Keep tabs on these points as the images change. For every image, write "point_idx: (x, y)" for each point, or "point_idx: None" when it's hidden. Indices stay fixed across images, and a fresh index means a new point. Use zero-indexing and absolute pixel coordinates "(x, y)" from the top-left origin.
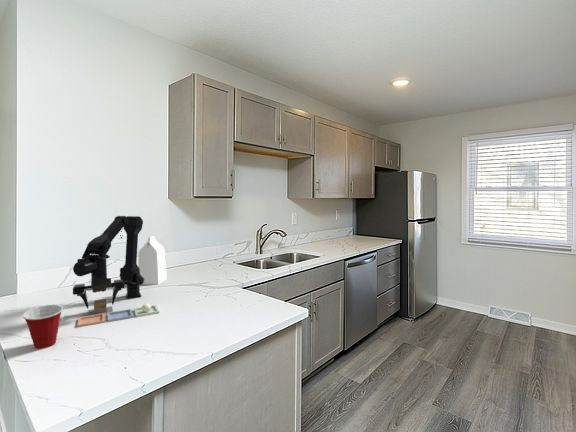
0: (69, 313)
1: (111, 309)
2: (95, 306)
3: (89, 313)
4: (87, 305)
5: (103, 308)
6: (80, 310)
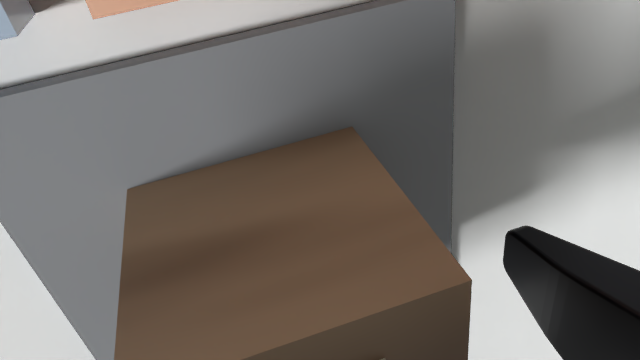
0: (634, 247)
1: (86, 312)
2: (392, 231)
3: (434, 178)
4: (569, 264)
5: (193, 230)
6: (525, 320)
